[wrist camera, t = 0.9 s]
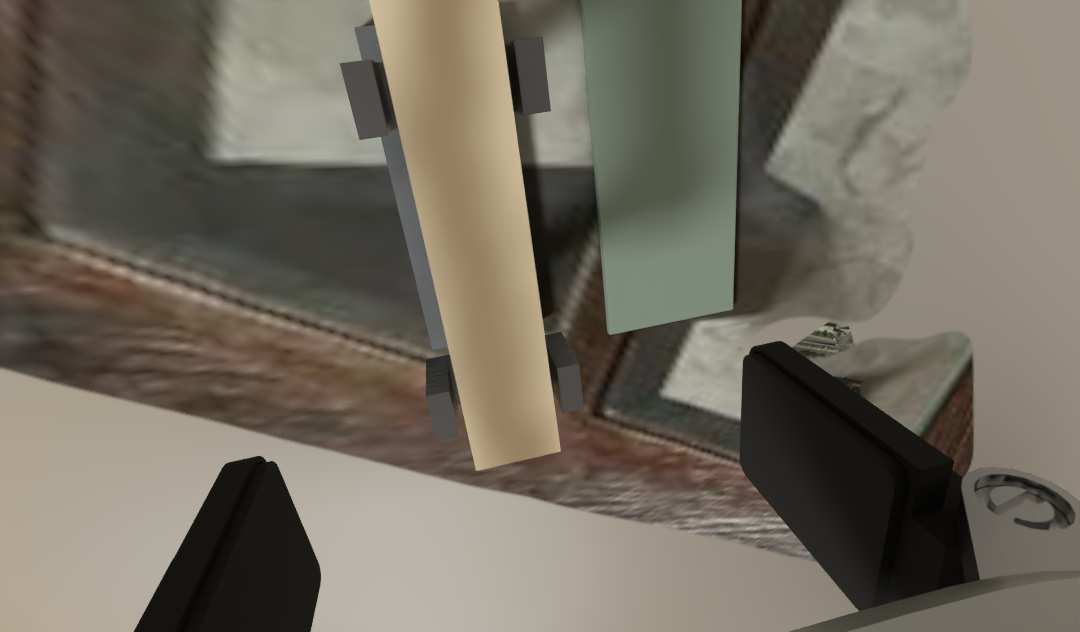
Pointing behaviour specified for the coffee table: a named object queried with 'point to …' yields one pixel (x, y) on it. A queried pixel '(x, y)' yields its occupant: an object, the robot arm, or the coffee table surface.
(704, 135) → the rubber mat
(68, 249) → the coffee table surface
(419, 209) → the maple rail
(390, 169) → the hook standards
